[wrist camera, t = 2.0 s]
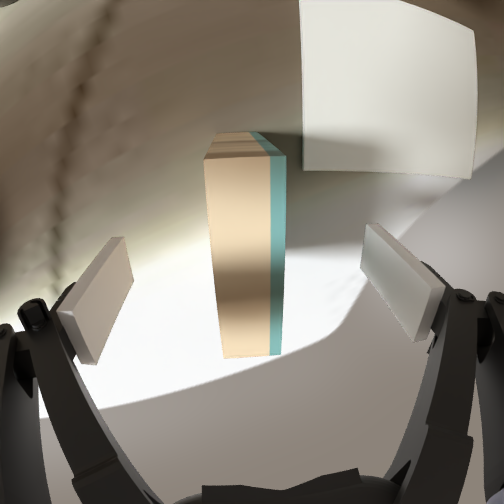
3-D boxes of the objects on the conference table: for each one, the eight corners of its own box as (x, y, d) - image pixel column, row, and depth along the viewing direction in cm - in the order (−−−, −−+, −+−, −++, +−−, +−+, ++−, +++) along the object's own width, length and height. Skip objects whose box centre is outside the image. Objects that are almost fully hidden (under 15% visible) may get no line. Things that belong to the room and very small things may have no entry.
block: (216, 133, 21) (203, 159, 10) (256, 131, 21) (286, 156, 10) (224, 253, 26) (223, 358, 15) (259, 250, 26) (280, 354, 15)
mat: (297, -18, 15) (299, -21, 15) (469, 31, 16) (473, 30, 16) (302, 169, 23) (303, 170, 22) (467, 178, 24) (470, 179, 23)
